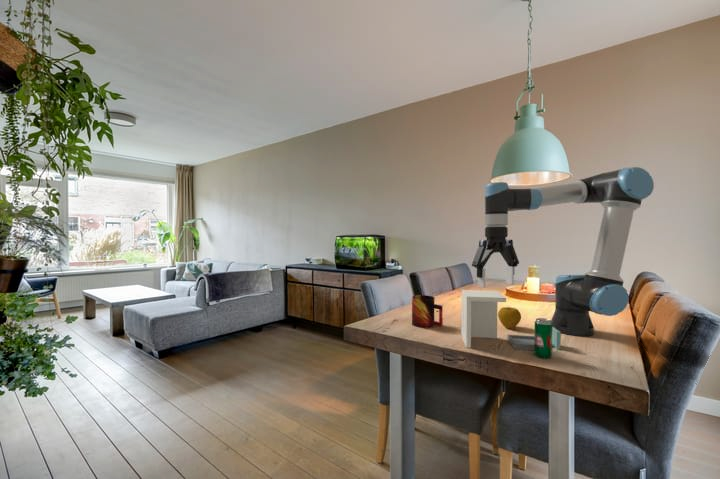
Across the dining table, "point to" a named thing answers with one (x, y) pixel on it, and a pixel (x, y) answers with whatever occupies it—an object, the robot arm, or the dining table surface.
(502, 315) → the apple
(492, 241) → the robot arm
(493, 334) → the cubby
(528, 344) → the sled
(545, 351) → the soda can
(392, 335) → the dining table surface
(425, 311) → the mug
